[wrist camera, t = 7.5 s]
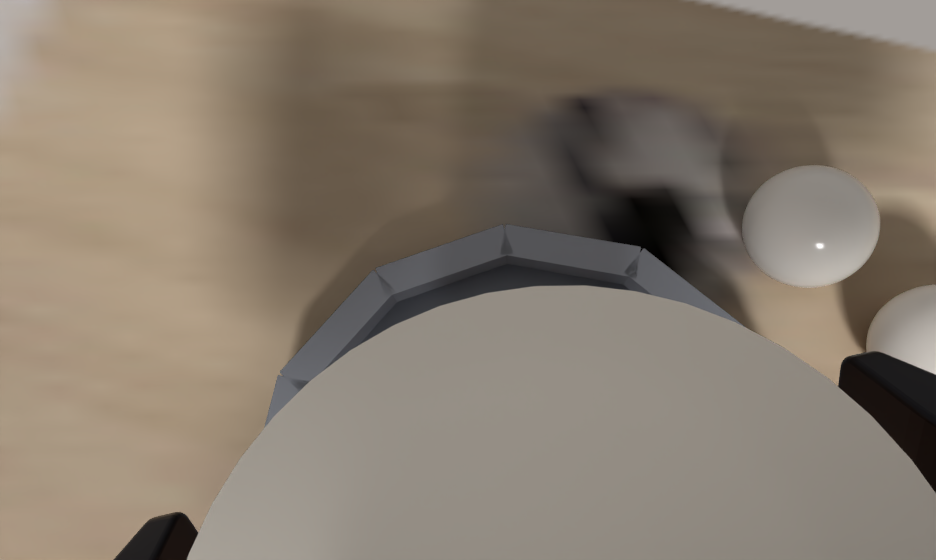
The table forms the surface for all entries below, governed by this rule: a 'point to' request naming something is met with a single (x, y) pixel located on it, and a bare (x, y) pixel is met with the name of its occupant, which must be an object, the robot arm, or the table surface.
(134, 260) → the table surface
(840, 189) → the pebble
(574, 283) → the bowl
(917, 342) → the pebble
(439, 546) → the pebble jar
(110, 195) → the table surface
